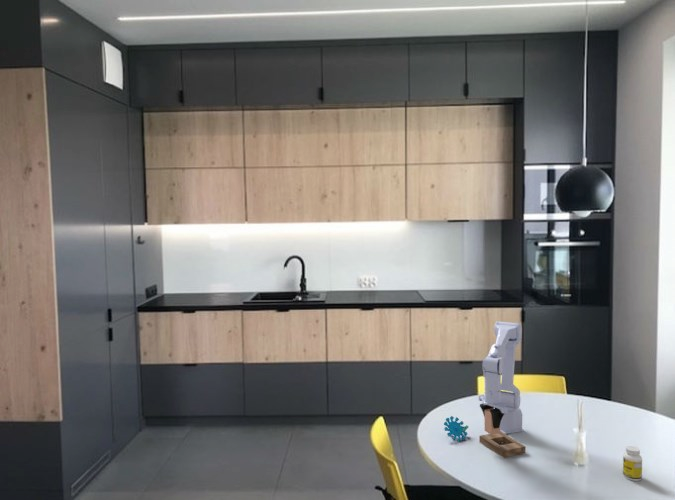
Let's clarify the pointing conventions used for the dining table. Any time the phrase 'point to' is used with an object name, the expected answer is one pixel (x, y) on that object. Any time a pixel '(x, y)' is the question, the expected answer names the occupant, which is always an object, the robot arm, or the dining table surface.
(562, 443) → the dining table surface
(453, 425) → the gear
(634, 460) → the supplement bottle
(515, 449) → the socket block
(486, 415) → the peg
